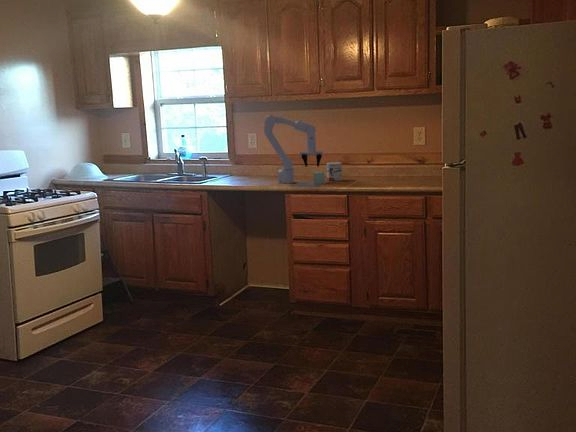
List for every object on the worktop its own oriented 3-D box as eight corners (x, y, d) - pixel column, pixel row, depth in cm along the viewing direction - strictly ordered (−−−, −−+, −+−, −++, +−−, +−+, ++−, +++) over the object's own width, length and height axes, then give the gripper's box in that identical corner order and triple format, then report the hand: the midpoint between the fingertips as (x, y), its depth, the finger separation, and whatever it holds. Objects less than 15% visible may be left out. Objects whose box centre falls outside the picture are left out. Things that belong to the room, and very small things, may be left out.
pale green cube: (313, 183, 396) (313, 172, 395) (316, 182, 401) (315, 171, 400) (321, 183, 394) (321, 172, 393) (324, 182, 399) (323, 171, 398)
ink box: (329, 182, 405) (328, 163, 403) (326, 181, 409) (326, 162, 407) (342, 181, 406) (341, 162, 404) (340, 180, 411) (339, 161, 409)
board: (288, 187, 389) (288, 186, 389) (300, 183, 408) (300, 182, 407) (317, 188, 383) (317, 186, 383) (327, 183, 401) (327, 182, 401)
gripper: (298, 145, 403) (299, 167, 406) (320, 144, 398) (321, 167, 401) (301, 144, 410) (302, 166, 412) (323, 144, 405) (324, 165, 407)
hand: (312, 166), depth 407 cm, fingers open, 7 cm apart
